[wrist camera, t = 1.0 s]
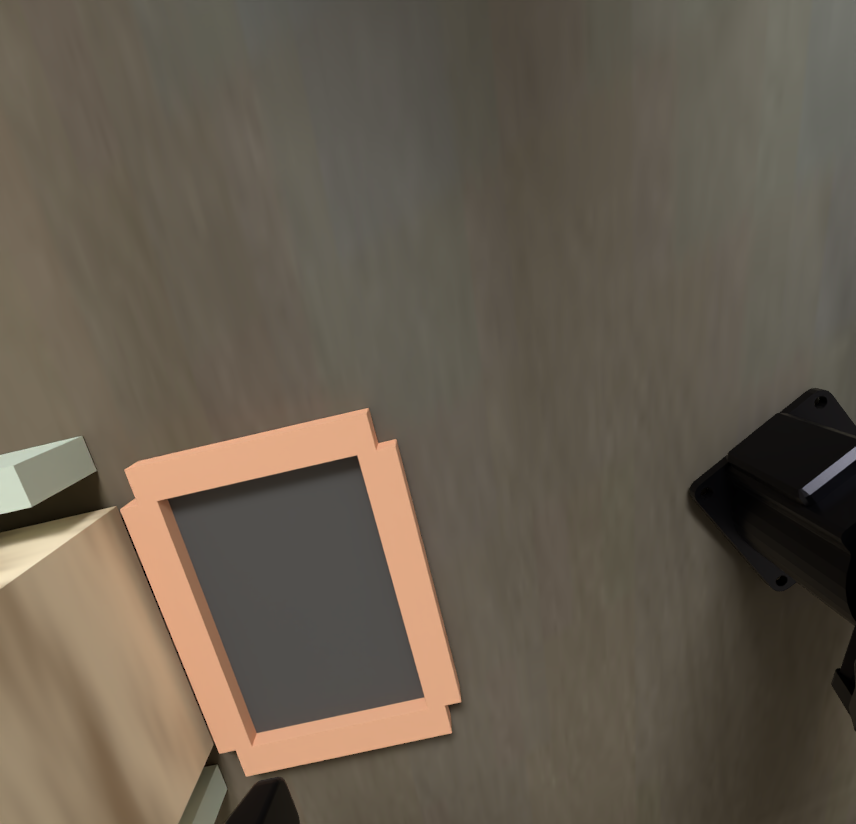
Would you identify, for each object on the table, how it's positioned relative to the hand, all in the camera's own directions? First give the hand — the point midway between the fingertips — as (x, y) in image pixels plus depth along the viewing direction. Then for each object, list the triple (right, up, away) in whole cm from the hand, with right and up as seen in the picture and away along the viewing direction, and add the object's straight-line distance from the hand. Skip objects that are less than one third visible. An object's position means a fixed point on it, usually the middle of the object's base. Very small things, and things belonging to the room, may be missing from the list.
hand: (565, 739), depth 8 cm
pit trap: (-7, -3, +14) cm, 16 cm away
